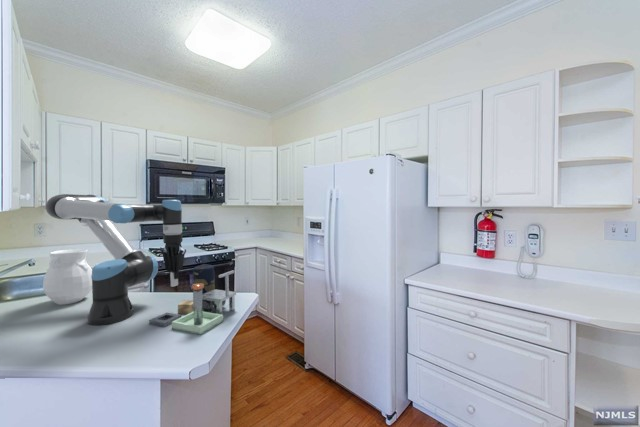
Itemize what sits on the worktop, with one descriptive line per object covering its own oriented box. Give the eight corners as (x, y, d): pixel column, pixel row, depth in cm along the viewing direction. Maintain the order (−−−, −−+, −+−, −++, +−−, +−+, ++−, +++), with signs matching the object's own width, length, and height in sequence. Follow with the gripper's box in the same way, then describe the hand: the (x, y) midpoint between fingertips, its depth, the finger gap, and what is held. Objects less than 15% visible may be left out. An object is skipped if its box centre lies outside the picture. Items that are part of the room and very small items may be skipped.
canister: (219, 299, 132) (218, 263, 132) (201, 305, 124) (201, 267, 124) (207, 295, 137) (206, 261, 137) (189, 301, 129) (189, 264, 129)
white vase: (71, 308, 121) (69, 254, 121) (31, 308, 122) (29, 254, 121) (104, 294, 140) (103, 247, 139) (70, 294, 140) (69, 247, 140)
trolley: (198, 314, 114) (197, 273, 114) (215, 305, 124) (214, 268, 123) (220, 318, 110) (219, 275, 109) (236, 308, 120) (235, 270, 119)
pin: (189, 324, 103) (188, 286, 102) (198, 320, 107) (197, 282, 106) (198, 326, 101) (197, 287, 101) (206, 321, 105) (206, 283, 105)
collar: (149, 323, 105) (149, 320, 105) (167, 315, 112) (167, 312, 112) (164, 327, 102) (164, 323, 102) (181, 318, 110) (181, 315, 110)
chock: (178, 313, 115) (177, 304, 115) (184, 309, 120) (184, 300, 120) (191, 313, 115) (191, 304, 115) (197, 309, 120) (197, 300, 120)
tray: (171, 328, 101) (171, 321, 101) (196, 316, 112) (196, 310, 112) (200, 334, 96) (200, 327, 96) (223, 321, 107) (223, 314, 107)
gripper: (154, 234, 118) (156, 286, 119) (176, 235, 114) (178, 289, 114) (169, 232, 125) (171, 282, 126) (190, 233, 121) (192, 284, 121)
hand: (174, 285), depth 120 cm, fingers closed
